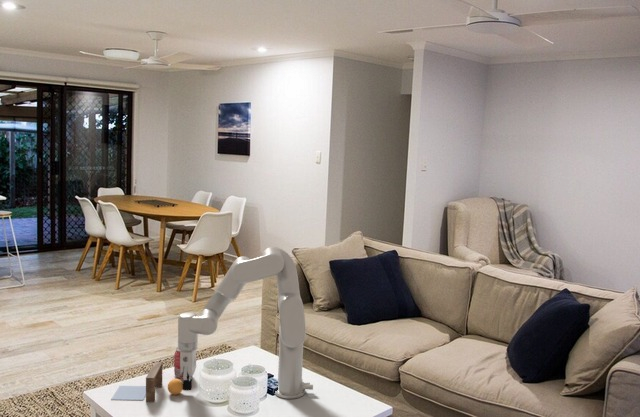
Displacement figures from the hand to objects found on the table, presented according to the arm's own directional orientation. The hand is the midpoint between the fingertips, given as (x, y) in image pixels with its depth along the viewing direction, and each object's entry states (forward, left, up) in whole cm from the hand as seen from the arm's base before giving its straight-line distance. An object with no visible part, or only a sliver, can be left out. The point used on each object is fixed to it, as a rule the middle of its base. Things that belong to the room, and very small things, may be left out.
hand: (187, 389), depth 232 cm
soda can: (+5, -17, -2) cm, 18 cm away
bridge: (+13, 0, -2) cm, 13 cm away
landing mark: (+22, 0, -2) cm, 22 cm away
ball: (+5, 0, +1) cm, 5 cm away
